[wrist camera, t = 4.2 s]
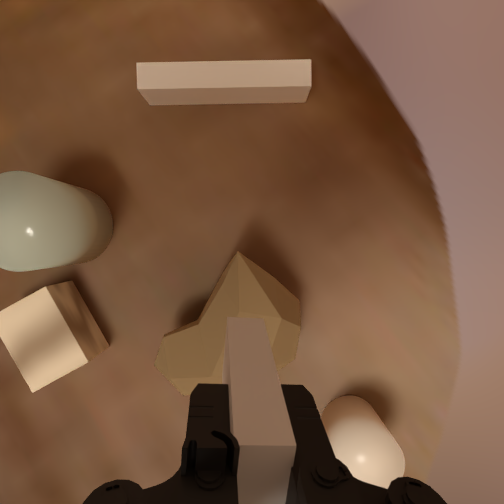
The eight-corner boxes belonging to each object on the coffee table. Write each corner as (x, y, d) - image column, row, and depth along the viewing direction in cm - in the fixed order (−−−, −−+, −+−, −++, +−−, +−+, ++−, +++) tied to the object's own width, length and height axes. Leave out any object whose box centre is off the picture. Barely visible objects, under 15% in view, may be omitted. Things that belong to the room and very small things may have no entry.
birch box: (24, 307, 38) (-11, 317, 33) (73, 280, 38) (45, 286, 33) (61, 372, 38) (32, 392, 33) (110, 345, 38) (88, 362, 33)
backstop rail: (305, 102, 37) (311, 86, 33) (149, 105, 37) (137, 89, 33) (305, 78, 37) (311, 59, 33) (149, 81, 37) (136, 62, 33)
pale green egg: (27, 199, 37) (-45, 186, 28) (100, 178, 37) (51, 158, 28) (49, 272, 38) (-15, 283, 29) (122, 251, 38) (80, 256, 29)
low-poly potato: (299, 252, 38) (200, 215, 32) (354, 318, 29) (230, 281, 23) (234, 357, 42) (139, 340, 37) (264, 442, 33) (144, 435, 28)
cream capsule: (314, 403, 38) (327, 441, 31) (368, 388, 38) (394, 422, 31) (329, 457, 38) (345, 506, 31) (383, 442, 38) (412, 488, 31)
